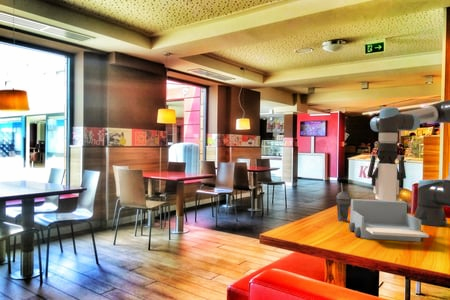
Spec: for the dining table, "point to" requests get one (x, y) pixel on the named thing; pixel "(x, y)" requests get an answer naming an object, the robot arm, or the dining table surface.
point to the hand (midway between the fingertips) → (385, 193)
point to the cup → (386, 182)
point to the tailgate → (396, 232)
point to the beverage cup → (343, 205)
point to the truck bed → (382, 219)
